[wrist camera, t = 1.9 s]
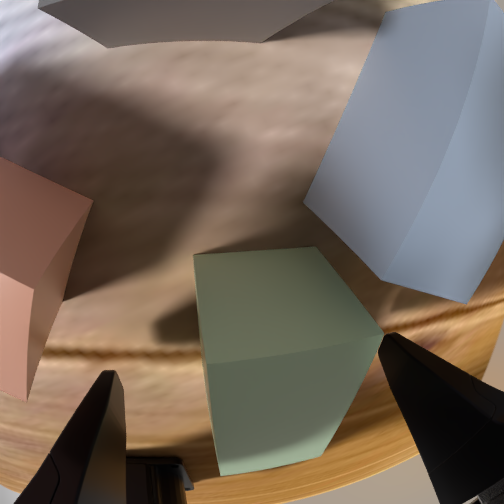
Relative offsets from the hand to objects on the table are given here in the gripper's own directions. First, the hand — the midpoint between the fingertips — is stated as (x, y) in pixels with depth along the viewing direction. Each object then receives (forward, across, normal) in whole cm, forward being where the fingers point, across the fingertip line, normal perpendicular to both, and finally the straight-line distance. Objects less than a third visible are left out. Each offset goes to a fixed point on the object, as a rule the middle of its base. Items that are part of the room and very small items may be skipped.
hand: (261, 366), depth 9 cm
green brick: (+2, 0, 0) cm, 2 cm away
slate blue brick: (+2, -4, -7) cm, 8 cm away
